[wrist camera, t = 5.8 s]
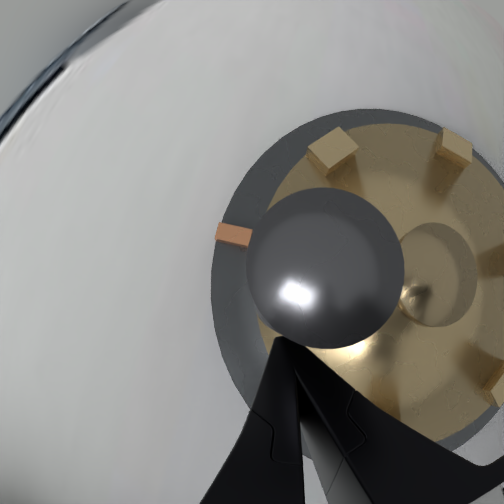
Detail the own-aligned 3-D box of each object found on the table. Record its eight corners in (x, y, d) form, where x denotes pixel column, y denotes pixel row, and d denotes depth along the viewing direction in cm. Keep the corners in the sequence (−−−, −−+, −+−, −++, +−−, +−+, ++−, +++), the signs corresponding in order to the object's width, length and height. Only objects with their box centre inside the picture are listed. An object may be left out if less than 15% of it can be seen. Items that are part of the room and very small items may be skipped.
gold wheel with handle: (480, 137, 20) (560, 51, 8) (530, 382, 16) (645, 389, 3) (233, 146, 20) (210, -21, 8) (278, 473, 15) (298, 628, 3)
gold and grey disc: (552, 334, 18) (567, 333, 16) (319, 520, 16) (323, 535, 14) (428, 92, 23) (437, 78, 21) (154, 201, 21) (144, 189, 19)
